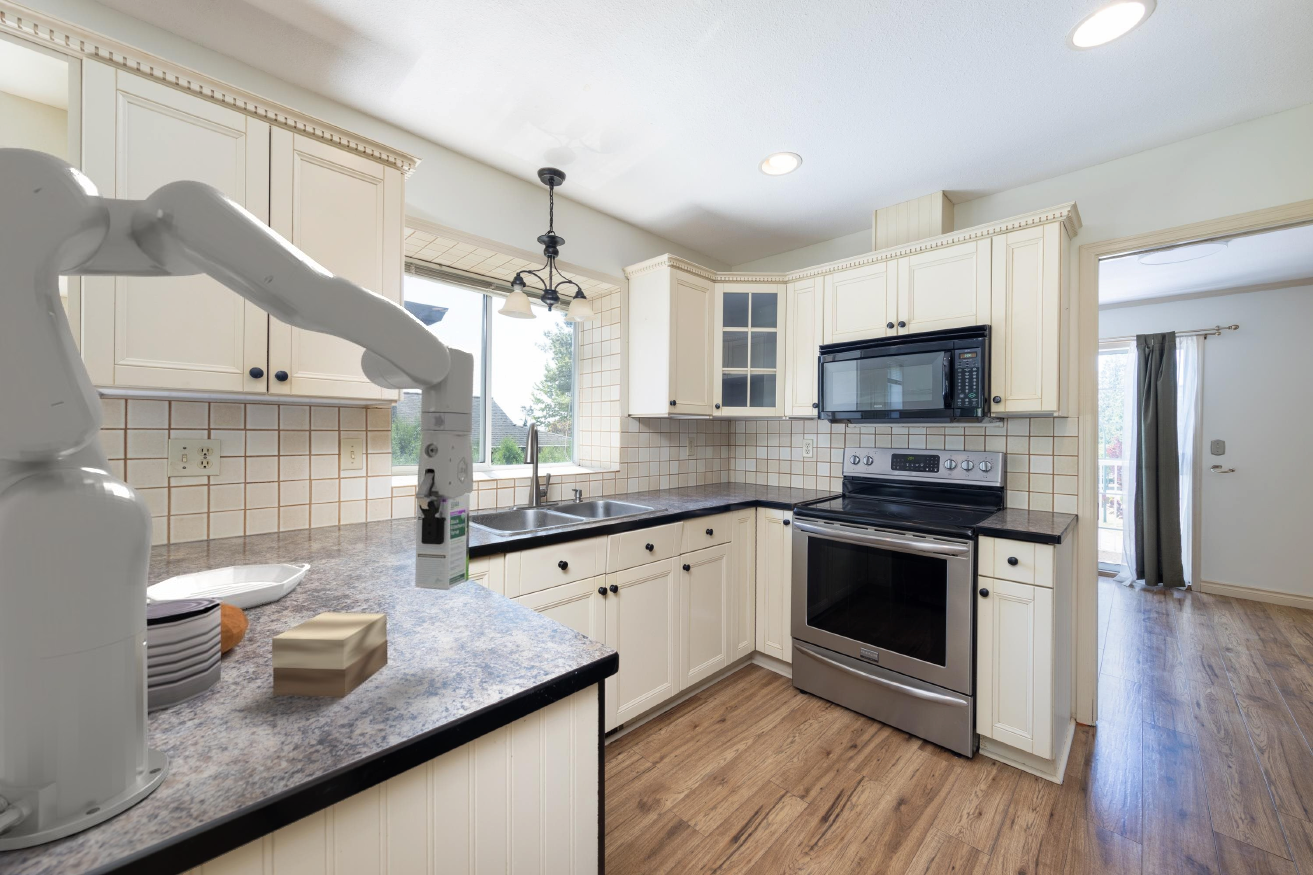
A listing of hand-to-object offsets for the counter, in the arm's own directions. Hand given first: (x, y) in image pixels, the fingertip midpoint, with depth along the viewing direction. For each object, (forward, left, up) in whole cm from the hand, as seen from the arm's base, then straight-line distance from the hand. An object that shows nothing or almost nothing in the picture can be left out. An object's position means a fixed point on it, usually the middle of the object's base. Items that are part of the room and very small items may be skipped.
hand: (443, 538), depth 81 cm
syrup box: (0, 0, -7) cm, 7 cm away
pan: (+26, +59, -19) cm, 67 cm away
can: (-12, +33, -19) cm, 40 cm away
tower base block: (-7, +13, -19) cm, 24 cm away
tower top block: (-7, +13, -15) cm, 21 cm away
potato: (0, +38, -19) cm, 42 cm away
